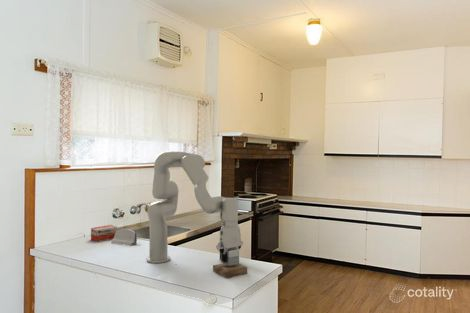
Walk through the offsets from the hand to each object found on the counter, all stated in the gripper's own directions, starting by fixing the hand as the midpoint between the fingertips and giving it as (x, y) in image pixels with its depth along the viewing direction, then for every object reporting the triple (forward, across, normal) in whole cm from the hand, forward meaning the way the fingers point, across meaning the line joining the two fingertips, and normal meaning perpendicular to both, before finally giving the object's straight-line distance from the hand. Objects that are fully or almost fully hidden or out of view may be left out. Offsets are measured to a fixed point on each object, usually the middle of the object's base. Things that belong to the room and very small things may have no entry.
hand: (229, 260), depth 171 cm
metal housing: (+1, 0, 0) cm, 1 cm away
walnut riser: (+6, 0, 0) cm, 6 cm away
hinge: (+6, -22, +86) cm, 89 cm away
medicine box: (+6, -30, +105) cm, 110 cm away
